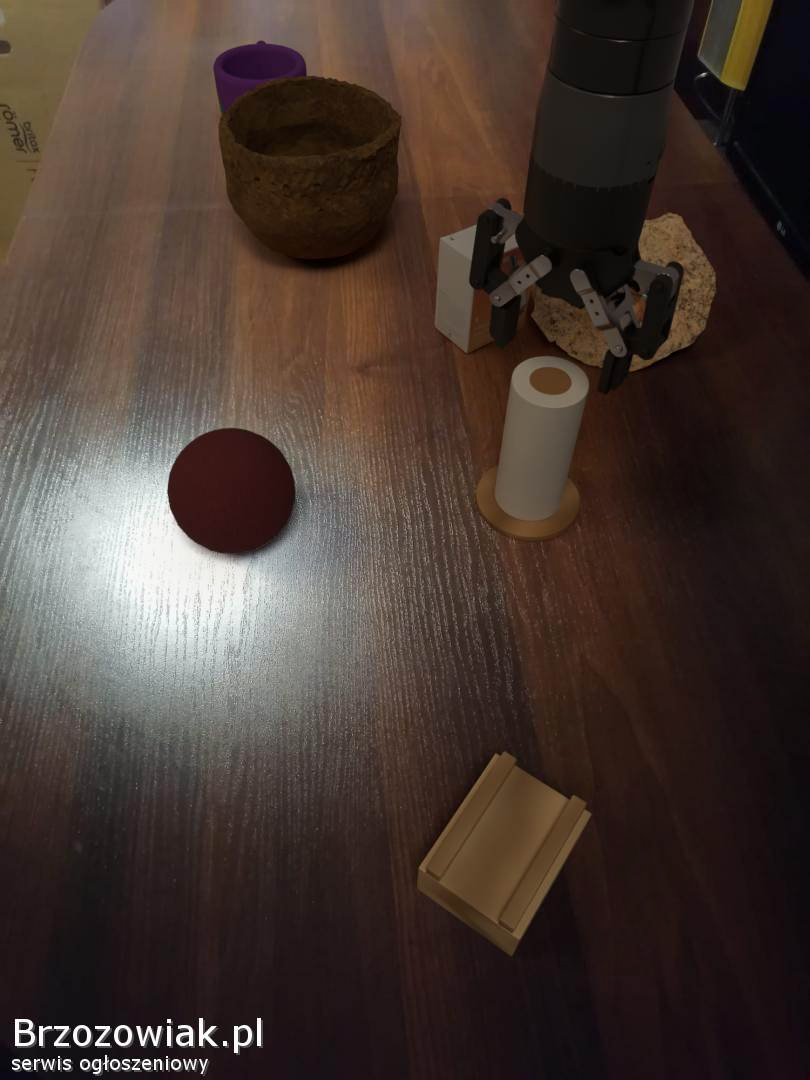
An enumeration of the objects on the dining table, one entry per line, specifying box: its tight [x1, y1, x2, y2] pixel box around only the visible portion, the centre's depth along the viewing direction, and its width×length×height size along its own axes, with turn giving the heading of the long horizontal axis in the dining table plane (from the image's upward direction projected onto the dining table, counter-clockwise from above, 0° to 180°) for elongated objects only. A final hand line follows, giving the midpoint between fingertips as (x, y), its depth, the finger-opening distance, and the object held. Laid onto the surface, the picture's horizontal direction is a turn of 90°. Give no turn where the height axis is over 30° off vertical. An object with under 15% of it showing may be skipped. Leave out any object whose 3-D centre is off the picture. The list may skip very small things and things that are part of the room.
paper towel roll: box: [495, 355, 590, 521], centre depth 69 cm, size 6×13×6 cm
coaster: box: [475, 463, 581, 542], centre depth 75 cm, size 9×9×1 cm
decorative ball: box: [166, 427, 296, 555], centre depth 68 cm, size 10×10×10 cm
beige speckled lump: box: [530, 212, 717, 372], centre depth 89 cm, size 18×14×8 cm
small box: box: [434, 223, 532, 354], centre depth 86 cm, size 8×6×10 cm
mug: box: [212, 40, 308, 116], centre depth 111 cm, size 17×11×10 cm, turn 5°
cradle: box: [416, 750, 592, 957], centre depth 54 cm, size 7×9×5 cm
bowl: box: [217, 75, 403, 260], centre depth 93 cm, size 19×19×15 cm
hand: (554, 364), depth 63 cm, fingers open, 8 cm apart
